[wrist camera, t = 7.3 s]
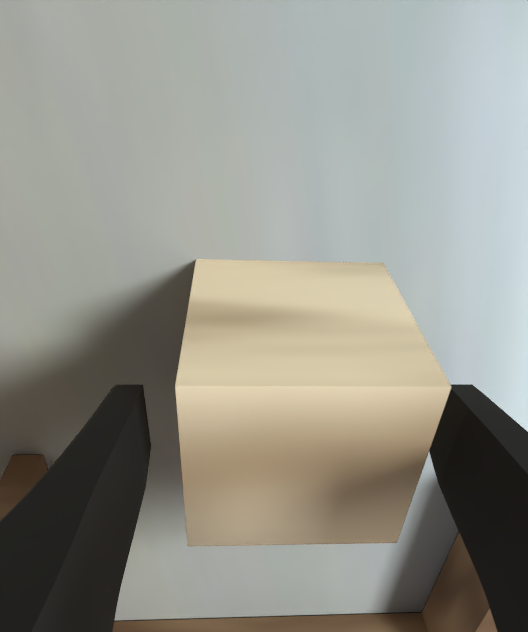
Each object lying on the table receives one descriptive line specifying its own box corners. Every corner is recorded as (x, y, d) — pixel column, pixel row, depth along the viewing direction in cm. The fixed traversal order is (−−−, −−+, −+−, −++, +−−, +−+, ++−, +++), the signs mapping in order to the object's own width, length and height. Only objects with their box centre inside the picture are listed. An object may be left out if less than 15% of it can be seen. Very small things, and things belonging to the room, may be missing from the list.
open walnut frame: (436, 621, 24) (458, 692, 22) (79, 632, 23) (60, 707, 21) (522, 450, 17) (570, 527, 15) (12, 455, 16) (-29, 538, 14)
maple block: (354, 398, 16) (396, 542, 11) (201, 397, 15) (187, 546, 11) (382, 261, 13) (451, 387, 9) (196, 258, 12) (175, 385, 8)
